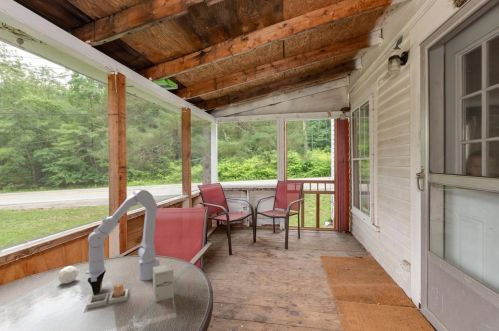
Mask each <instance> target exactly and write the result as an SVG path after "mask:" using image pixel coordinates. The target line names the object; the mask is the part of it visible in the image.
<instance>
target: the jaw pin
mask: <svg viewBox="0 0 499 331" xmlns="http://www.w3.org/2000/svg"><path fill="white" fill-rule="evenodd" d="M123 290H124V284H123V283H117V284H115V285H114V286H113V292H114V298H117V297H121V296H124V295H123Z"/></svg>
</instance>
